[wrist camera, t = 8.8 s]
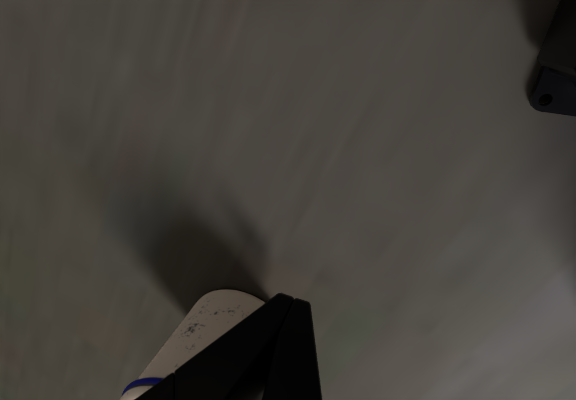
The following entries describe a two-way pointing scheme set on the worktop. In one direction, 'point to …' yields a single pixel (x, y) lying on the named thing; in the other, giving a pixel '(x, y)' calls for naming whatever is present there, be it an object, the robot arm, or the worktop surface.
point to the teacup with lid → (195, 335)
